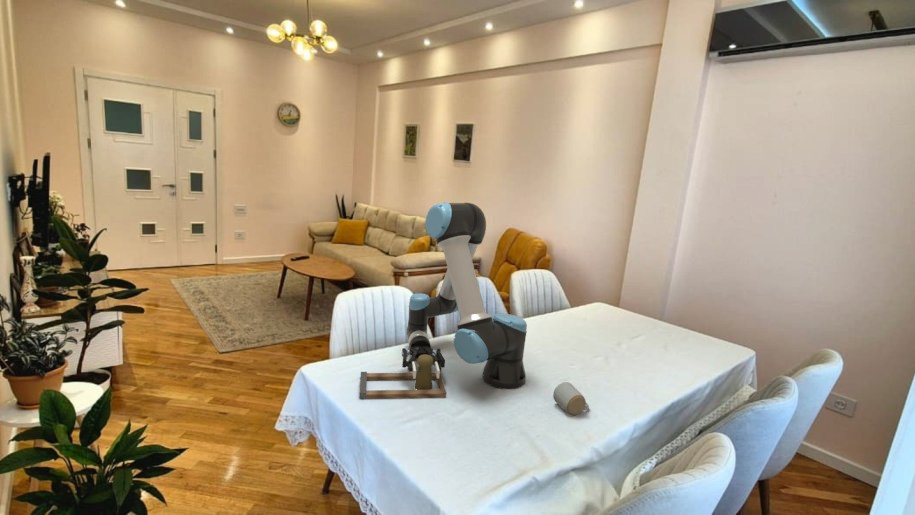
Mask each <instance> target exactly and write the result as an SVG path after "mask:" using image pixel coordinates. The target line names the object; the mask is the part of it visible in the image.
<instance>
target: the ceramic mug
mask: <svg viewBox="0 0 915 515" xmlns="http://www.w3.org/2000/svg"><path fill="white" fill-rule="evenodd" d="M552 398H553V400H554V401H555V403H556V404H557V405H559V406H560V407H561V408H562V409H563V411H565V412H566V413H567V414H569V415H572V416H576V415H579V414H581V412H583V411H587V410H588V409H589V407H590V405H589V404H588V403H587V402H586V398H585V396H584V395H583V394H582V393H581V392H580V391H579V390H578V389H577V388H576V387H575V386H574V385H573V384H572V383H571V382H569V381H568V382H567V381H563V382H561V383H559V384H558V385H557V386H556V387H555V388H554V390H553V394H552Z"/></svg>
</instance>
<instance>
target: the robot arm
mask: <svg viewBox="0 0 915 515" xmlns="http://www.w3.org/2000/svg"><path fill="white" fill-rule="evenodd" d="M425 229H426V230H425V231H426V233H427V234H428V236H429V237H430V238H432V239H435V241H436V244H437V247H439V248H440V249H441V250H443V254H444V259H445V263H446V268H447V270H446V272H445V275H444V278H443V281H442V283H441V286H440V289H439V291H438V294H437V296H431V297H430V296H429V295H428V294H427V293H426V294H425V293H413V294H411V295H410V298H409V302H408V320H407V326H406V336H407V340H408V345H409V346H408V347H409V349H407V348H405V347H404V348H402V350H401V357H402V365H401V366H402V368H404V369H405V368H407V371H408V373H412V374H413V379H416V373H417V369H416V368H417V367H416V364H415V363H416V362H417V360H418V357H419V356H420V355H423V354H427V355H430V356H432V358H433V365H432V366H433V370H434V373H435V374H436V377H437V378H439V374H441V372H442V368H445V365H446V358H444V355H443V354H442V352H441V348H437V349H433V348H432V346H431V343H430V342H431V341H430V338H429V335H428V324H429V318H434V317H438V316H439V317H440V316H443V315H450V314H452V313H455V312H458V314H459V315H458V316H459V321H458V323H457V324H456V326H457V331H456V333H455V334H454V338H453V345H454V346H453V347H454V349H455V351H456V353H457V355H458V356H459V358H461V360H463V362H466V363H467V364H470V365H476V364H481V363H485V362H486V363H485V365H484V367H483V369H482V373H481V374H482V375H481V377H482V380H483V381H484V383H485V382H486V384H488V385H490V386H492V387H495V388H498V389H504V390H515V389H518V388H521V387H523V386H524V385H525V384H526V380H527V378H526V377H527V376H526V375H527V374H526V372H525V365H524V361H523V360H524V352H525V345H526V337H527V333H528V332H527V325H528V324H527V322H526V320H525V319H524V318H522V317H520V316H518V315H514V314H510V313H504V312H503V313H502V312H501V313H495V314H494V315H493V318H492V315H490V314H489V313H487V311H486V310H485V304H484V301H483V298H482V294H481V290H480V285H479V281H478V278H477V274H476V271H475V267H474V263H473V258H474V256H475V254H476V251H477V248H478V246H480V245H481V244H482V243H483V240H484V238H485V235H486V231H487V219H486V216H485V213H484V211H483V210H482V209H481V208H480V207H479V206H478V205H476V204H475V203H472V202H471V203H470V202H441V203H435V204H433V205H432V206H431V207H430V208H429V210H428V212H427V214H426V217H425ZM409 355H410V358H409V359H408V356H409Z"/></svg>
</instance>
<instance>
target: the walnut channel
mask: <svg viewBox="0 0 915 515" xmlns="http://www.w3.org/2000/svg"><path fill="white" fill-rule="evenodd" d="M416 376H417V372H416ZM392 380H394V381H416V379H413V374H412V372H367V382H368V381H370V382H373V381H376V382H377V381H381V382H382V381H390V382H391V381H392ZM394 381H393V382H394ZM432 381H436V383H437V387H438V388H437V389H431V390H416V389H385V390H383V389H382V390H378V389H377V390H376V389H375V390H374V389H372V390H370V389H369V390H367V389H366V399H365V400H385V399H386V400H388V399H389V400H390V399H391V400H393V399H439V398H441V399H443V398H444V399H446V398H447V390H446V387H445V384H444V381H443V377H442V374H441V373H440V374H439V378H437V377H436V374H435V372H432Z"/></svg>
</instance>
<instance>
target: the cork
mask: <svg viewBox="0 0 915 515" xmlns="http://www.w3.org/2000/svg"><path fill="white" fill-rule="evenodd" d="M416 362H417V365H418V368H417V370H416V373H417V376H416V380H414V381H415V382H414V386H413V388H414V387H415V388H414V390H416V389H417V390H433V380H432V373H433V372H432V366H434V365H433V358H432V356H430V355H427V354H423V355H420V356H419V357H418V359H417V361H416Z"/></svg>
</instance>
